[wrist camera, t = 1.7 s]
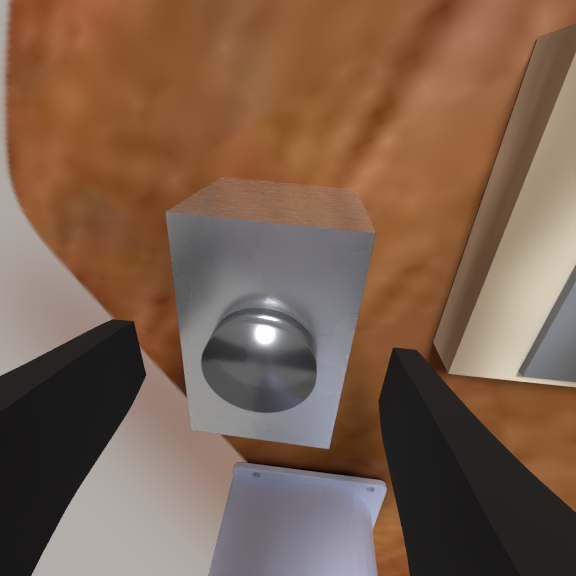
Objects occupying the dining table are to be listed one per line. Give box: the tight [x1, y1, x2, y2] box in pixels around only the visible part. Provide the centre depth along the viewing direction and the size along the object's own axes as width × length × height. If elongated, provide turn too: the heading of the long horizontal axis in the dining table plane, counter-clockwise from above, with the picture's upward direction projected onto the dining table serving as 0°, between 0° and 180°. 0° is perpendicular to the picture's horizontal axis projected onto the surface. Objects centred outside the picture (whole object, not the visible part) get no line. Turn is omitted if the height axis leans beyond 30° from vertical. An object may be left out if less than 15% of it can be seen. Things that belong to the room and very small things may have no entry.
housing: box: [166, 177, 376, 449], centre depth 11 cm, size 5×8×6 cm, turn 176°
